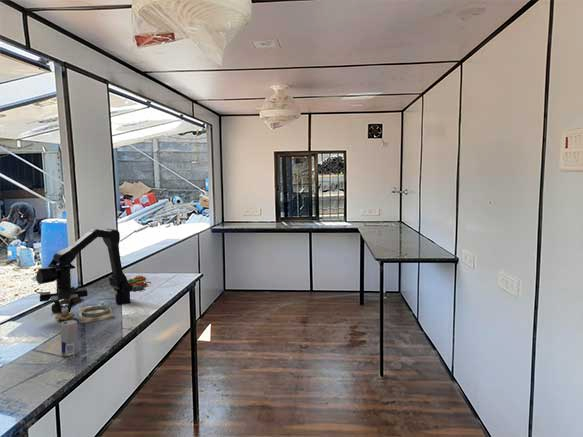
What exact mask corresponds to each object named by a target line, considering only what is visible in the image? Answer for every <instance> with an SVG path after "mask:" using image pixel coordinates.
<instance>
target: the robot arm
mask: <svg viewBox="0 0 583 437" xmlns="http://www.w3.org/2000/svg"><path fill="white" fill-rule="evenodd" d="M97 238H102V240H103V243H104V244H105V245H106V247H107V251H108V256H109V262H110V267H111V273H112V274H111V276H109V277H108V280H109V285H110V286H111V288H113V290H114V292H115V291H116V292H115V298H114V299H115V303H116V305H123V304H124V305H125V304H131V303H132V301H131V291H132V289H133V287H132V286H131V285H130V284H128V280H129V279H128V278H127V276H126V275H125V273H124V272H123V268H122V267H123V266H122V262H121V254H120V251H119V250H120V248H119V243H120V241H121V236H120V231H119V230H117V229H113V228H105V229H97V228H91V229H89V230H88V231H87V232H86V233H85V234H83V235H82V236H81V237H80V238H79V239H77V240H76V241H74V243H72V244H71V245H70V246H68V247H65V248H62V249H61V250H58V251H57V252H55V253H54V254H53V256H52V257H53V258H52V259H51V261H50V262H49V264H48V266H47V267H39V268H38V271H37V272H36V276H35V278H36V282H37V283H38V285H42V284H43V285H45V284H48V283H53V282H55V281H56V282H55V283H56V291H55V292H53V293H51V291H43V292H42V291H41V292H40V294H39V302H49V301H50V303H53V304H56V306H57V308H58V310H59V312H60V313H59V314H61V307H60V301H62V300H64V299H70V302H69V313H70V312H71V310H72V307H73V305H74V303H73V302H74V300H75V299H78V297H77V296H79V297H81V298H83V297H89V296H88V288H87V287H80V288H77V290H76V287H75V286H72V276H71V275H72V274H71V270H72V269H76V266H74V265H73V264H72V262H74V260H76V258H77V255H78V254H79V253H80V252H81V251H83V250H84V249H85V248H86V247H87V246H88V245H90V244H91V243H93V242H94V241H95V240H97Z"/></svg>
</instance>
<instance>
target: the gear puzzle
mask: <svg viewBox="0 0 583 437" xmlns="http://www.w3.org/2000/svg"><path fill="white" fill-rule="evenodd" d="M146 279H147V277H146V276H143V275H136V276H135V277H133V278H129V279H127V280H128V284H130V285H131V286H132V287H133V289H132V291H133V292H136V291H139V292H142V291H145V290H146V289H145V288H146V287H145V286H148V287H149V284H147V283H150V284H152V282H151V281H150V282H149V280H146ZM146 281H148V282H146ZM144 282H145V283H144ZM144 287H145V288H144ZM143 288H144V289H143ZM132 291H131V292H132ZM114 292H115V293H116V291H115V290H114ZM131 292H130V293H131Z"/></svg>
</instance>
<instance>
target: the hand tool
mask: <svg viewBox="0 0 583 437" xmlns="http://www.w3.org/2000/svg"><path fill="white" fill-rule="evenodd" d="M77 297H78V299H75V300H74V302H73V304H76V303H78V302H80V300H81V298H82V297H79V296H77ZM59 302H60V307H61V305H62V304H69V302H70V299H62V300H59ZM50 309H51V312H52V313H53V314H60V312H59V310H58V308H57V306H56V304H55V303H53V304H52V305H51V308H50Z"/></svg>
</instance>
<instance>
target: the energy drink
mask: <svg viewBox="0 0 583 437" xmlns="http://www.w3.org/2000/svg"><path fill="white" fill-rule="evenodd" d="M78 328H79V327H78V322H77V320H76V319H75V320H74V319H66V320H63V321H62V322H61V324H60V340H61V341H60V342H61V344H60V345H61V346H60V347H61V355H62V357H65V356H69V357H72V356H71V355H73V356H76V355H77V354H79V334H78V333H79V331H78ZM75 354H76V355H75Z"/></svg>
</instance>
